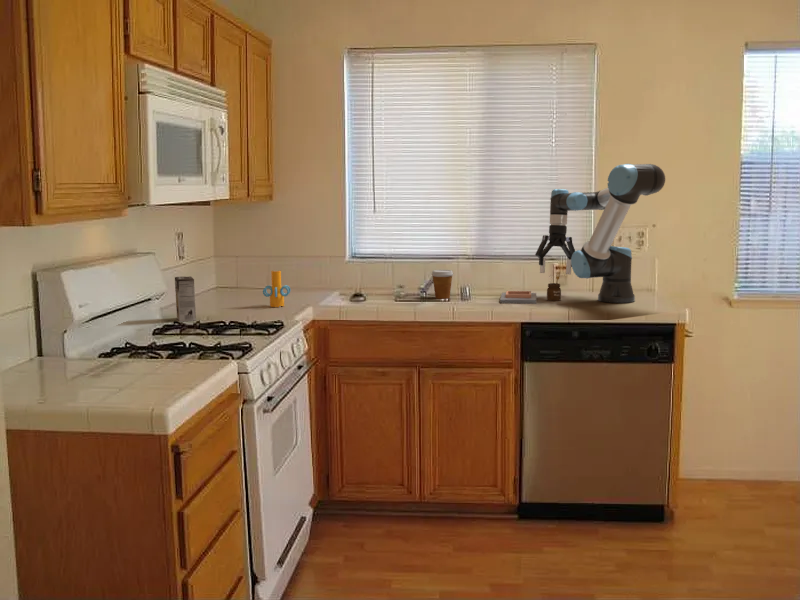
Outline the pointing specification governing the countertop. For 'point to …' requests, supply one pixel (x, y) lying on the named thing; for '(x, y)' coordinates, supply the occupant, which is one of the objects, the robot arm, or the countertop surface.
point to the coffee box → (185, 298)
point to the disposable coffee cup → (442, 283)
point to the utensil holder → (554, 290)
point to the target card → (518, 297)
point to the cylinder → (276, 290)
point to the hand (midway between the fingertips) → (555, 273)
